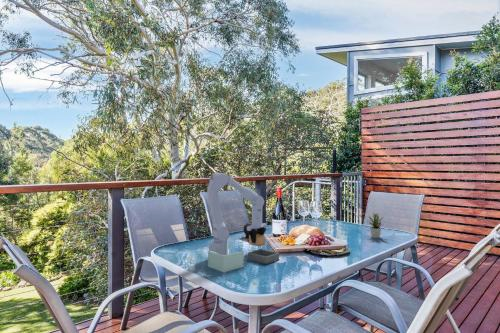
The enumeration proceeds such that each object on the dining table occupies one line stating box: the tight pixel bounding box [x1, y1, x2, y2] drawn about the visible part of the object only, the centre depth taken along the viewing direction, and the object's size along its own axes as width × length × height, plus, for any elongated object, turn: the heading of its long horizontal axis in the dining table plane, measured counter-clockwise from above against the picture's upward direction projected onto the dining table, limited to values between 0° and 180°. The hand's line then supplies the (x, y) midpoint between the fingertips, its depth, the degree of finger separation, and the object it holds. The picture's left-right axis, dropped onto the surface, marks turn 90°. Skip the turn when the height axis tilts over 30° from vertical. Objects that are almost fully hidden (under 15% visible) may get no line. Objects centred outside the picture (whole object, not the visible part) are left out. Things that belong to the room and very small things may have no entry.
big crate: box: [247, 248, 280, 265], centre depth 180 cm, size 10×12×4 cm
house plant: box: [365, 212, 385, 239], centre depth 231 cm, size 14×14×16 cm
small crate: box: [248, 234, 266, 247], centre depth 193 cm, size 5×7×5 cm
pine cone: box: [243, 221, 258, 240], centre depth 226 cm, size 10×18×10 cm, turn 32°
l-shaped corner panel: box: [207, 250, 244, 273], centre depth 169 cm, size 12×12×8 cm
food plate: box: [307, 245, 351, 256], centre depth 196 cm, size 25×23×4 cm
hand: (256, 241), depth 193 cm, fingers closed on small crate, 5 cm apart
